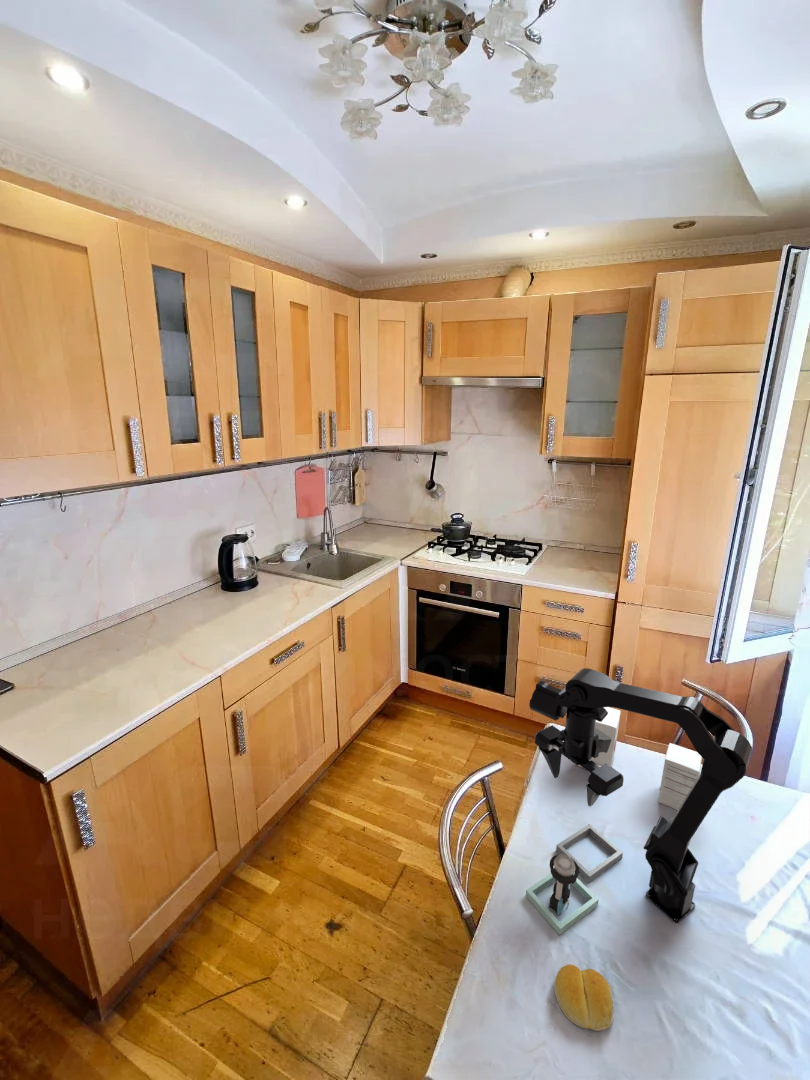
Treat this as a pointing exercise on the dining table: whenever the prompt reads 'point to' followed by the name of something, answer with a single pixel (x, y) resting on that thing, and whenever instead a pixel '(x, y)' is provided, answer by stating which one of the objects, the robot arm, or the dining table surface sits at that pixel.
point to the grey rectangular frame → (599, 837)
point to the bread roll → (584, 997)
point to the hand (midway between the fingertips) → (572, 790)
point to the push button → (562, 880)
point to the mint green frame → (557, 925)
